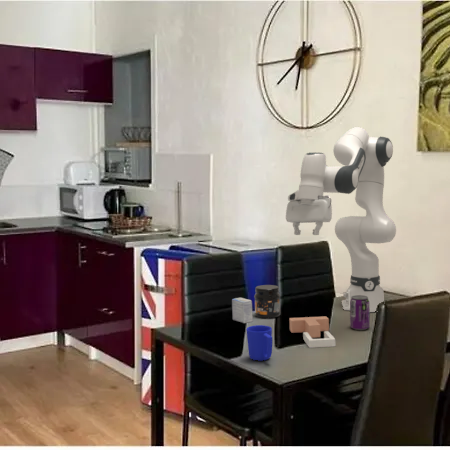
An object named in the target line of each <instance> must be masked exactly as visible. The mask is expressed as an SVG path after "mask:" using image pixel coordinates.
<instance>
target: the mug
mask: <svg viewBox="0 0 450 450" xmlns="http://www.w3.org/2000/svg"><path fill="white" fill-rule="evenodd" d="M272 334H273V329H272V327H271V326H269V325H265V324H263V325H262V324H261V325H260V324H259V325H256V324H255V325H251V326H248V327H247V328H246V338H247V348H248V349H247V351H248V356H249V359H251V360H252V359H253V360H252V361H255V360H258V362H263V360H264V361H267V360H269V359H271V357H272V353H273V336H272Z"/></svg>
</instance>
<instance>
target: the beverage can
mask: <svg viewBox="0 0 450 450" xmlns="http://www.w3.org/2000/svg"><path fill="white" fill-rule="evenodd" d="M351 298H352V299H351V301H350V310H349V312H350V313H349V325H350V326H349V327H350V328H351V329H353V330H356V331H365V330H367V329H369V328H370V322H371V321H370V316H371V315H370V313H371V312H370V307H369V300H368V297H367V296H363V295H355V296H352V297H351Z"/></svg>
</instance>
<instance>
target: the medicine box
mask: <svg viewBox="0 0 450 450" xmlns="http://www.w3.org/2000/svg"><path fill="white" fill-rule="evenodd" d="M231 308H232V310H231V311H232V320H233V321H236V322H240V323H242V324H247V323H252V322H253V301H252V300H251V299H247V298H244V297H235V298H232V299H231Z"/></svg>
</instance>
